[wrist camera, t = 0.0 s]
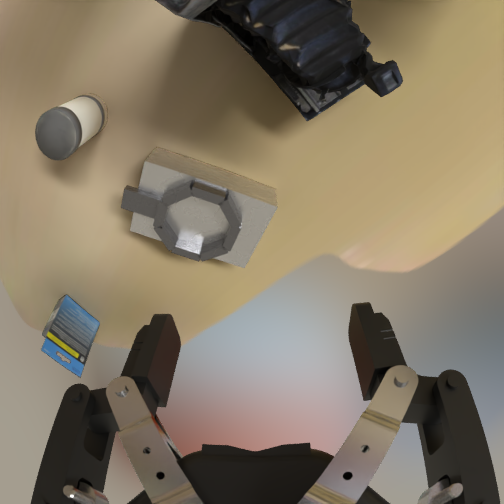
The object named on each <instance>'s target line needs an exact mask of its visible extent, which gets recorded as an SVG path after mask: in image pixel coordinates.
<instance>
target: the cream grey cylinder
mask: <svg viewBox="0 0 504 504" xmlns="http://www.w3.org/2000/svg"><path fill="white" fill-rule="evenodd" d="M107 119H108V111H107V107H106V104H105V103H104V101H103V100H102V99H101V98H100V97H99V96H97V95H94V94H84V95H81V96H79V97H76V98H74V99H73V100H71V101H69V102H67V103H65V104H62V105H60V106H58V107H55V108H52V109H50V110H48V111H47V112H45V113H44V114H42V115H41V117H40V118H39V120H38V122H37V125H36V130H35V135H36V141H37V144H38V146H39V148H40V150H41V151H42V152H43V154H45V155H46V156H47V157H48V158H50V159H53V160H63V159H66V158H67V157H69V156H70V155H71V154H73V153H74V152H75V151H76V150H77V149H78V148H79V147H80V146H81V145H82V144H84V143H85V142H86V141H88V140H89V139H90V138H92V137H94V136H95V135H96V134H98V133H99V132H100V131H101V130H102V129H103V128H104V126H105V125H106V122H107Z"/></svg>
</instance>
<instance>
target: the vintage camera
mask: <svg viewBox="0 0 504 504" xmlns="http://www.w3.org/2000/svg"><path fill="white" fill-rule="evenodd" d="M156 1H157V2H158V3H160V4H161V5H163V6H164V7H166V8H167V9H168V10H170V11H171V12H172V13H174V14H175V15H178V16H181V17H183V18H186V19H189V20H192V21H195V22H203V23H208V24H211V25H214V26H216V27H223V28H224V29H225V30H226V31H227V32H228V33H229V34H230V35H231V36H232V37H233V38H234V39H235V40H236V41H237V42H238V43H239V44H240V45H241V46H242V47H243V48H244V49H245V50H246V51H247V52H248V53H249V54H250V55H251V56H252V57H253V58H254V59H255V60H256V61H257V62H258V63H259V64H260V66H261V67H262V68H263V69H264V70H265V71H266V72H267V73H268V75H269V76H270V77H271V78H272V79H273V80H274V82H275V83H276V84H277V85H278V86H279V88H280V89H281V90H282V91H283V92H284V93H285V94H286V96H287V97H288V98H289V99H290V100H291V102H292V103H293V104H294V105H295V107H296V108H297V109H298V110H299V112H300V113H301V114H302V115H303V117H304V118H305V119H306V121H309V120H310V119H312V118H314V117H315V116H317V115H318V114H320V113H321V112H323V111H325V110H326V109H328V108H329V107H331V106H332V105H334V104H335V103H337V102H338V101H340V100H341V99H343V98H344V97H346V96H347V95H349V94H350V93H352V92H353V91H355V90H356V89H358V88H360V87H361V86H363V85H364V84H366V85H367V86H368V87H369V88H370V89H372V90H373V91H374V92H375V93H376V94H378V95H379V96H380V97H383V96H385V95H387V94H389V93H391V92H392V91H393V90H395V89H396V88H398V87H399V86H400V85H401V84H402V82H403V79H402V76H401V74H400V71H399V69H398V66H397V63H396V62H395V61H393V60H392V61H388V62H386V63H385V64H381V63H377V62H374V61H373V58H372V55H371V54H370V53H369V52H367V51H366V50H367V47H368V46H369V45H370V43H371V42H370V41H369V39H368V38H367V37H366V36H365V35H364V33H361V32H360V29H359V26H358V25H357V24H355V23H354V22H353V21H352V8H351V1H348V0H156Z"/></svg>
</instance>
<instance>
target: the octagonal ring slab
mask: <svg viewBox="0 0 504 504" xmlns="http://www.w3.org/2000/svg"><path fill="white" fill-rule="evenodd" d="M277 207H278V206H277V197H276V189H275V188H272V187H270V186H267V185H264V184H262V183H259V182H257V181H254V180H251V179H249V178H246V177H243V176H240V175H238V174H235V173H232V172H229V171H227V170H224V169H221V168H218V167H215V166H213V165H210V164H207V163H204V162H201V161H198V160H195V159H192V158H189V157H186V156H183V155H180V154H177V153H174V152H171V151H168V150H165V149H162V148H159V147H156V148H155V149H154V150H153V152H152V153H151V154H150V155H149V156H148V158H147V159H146V160H145V162H144V166H143V170H142V175H141V179H140V183H139V188H138V189H137V188H134V187H131V186H128V185H127V186H126V187H125V189H124V193H123V199H122V205H121V208H123V209H126V210H129V211H132V212H133V217H132V223H131V228H130V231H132V232H135V233H138V234H141V235H144V236H147V237H150V238H153V239H156V240H159V241H162V242H163V243H164V244H165V246H166V247H167V249H168V250H169V251H170V250H172V252H171V253H174V254H177V255H180V256H184V257H187V258H190V259H193V260H196V261H199V260H200V259H201V261H205V260H208V259H212V258H214V259H217V260H220V261H224V262H227V263H230V264H233V265H236V266H239V267H242V268H245V266H246V264H247V263H248V261H249V259H250V257H251V255H252V253H253V252H254V250H255V248H256V246H257V244H258V242H259V240H260V239H261V237H262V235H263V233H264V231H265V229H266V228H267V226H268V224H269V222H270V220H271V218H272V217H273V215H274V213H275V211H276V209H277Z"/></svg>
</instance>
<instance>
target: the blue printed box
mask: <svg viewBox="0 0 504 504" xmlns="http://www.w3.org/2000/svg"><path fill="white" fill-rule="evenodd" d="M99 325H100V322H99V321H97V320H96V319H95V318H93V317H92V316H91V315H90V314H88V313H87V312H86V311H85V310H84V309H82V308H81V307H80V306H79V305H78V304H77V303H75V302H74V301H73V300H72V299H71V298H70V297H69V296H68V295H65V296H64V297H62V298H61V299H59V301H58V302H57V304H56V306H55V308H54V310H53V312H52V314H51V316H50V318H49V320H48V322H47V324H46V326H45V328H44V330H43V333H42V335H43V336H44V337H45V338H46V339H45V342H44V344H43V346H42V349H41V351H43V352H44V353H46V354H47V355H48V356H50V357H51V358H52V359H54V360H55V361H57V362H58V363H59V364H61V365H62V366H64V367H65V368H67V369H68V370H69V371H71V372H72V373H74V374H75V375H77V376H78V377H80V378H81V375H82V371H83V369H84V366H85V363H86V360H87V357H88V354H89V351H90V349H91V346H92V343H93V340H94V338H95V335H96V332H97V330H98V327H99ZM57 352H59V353H60V354H62V355H63V356H65V357H66V358H67V359H69V360H70V363H68V362H66V361H62V360H61V357H59V356H58V355H57Z"/></svg>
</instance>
